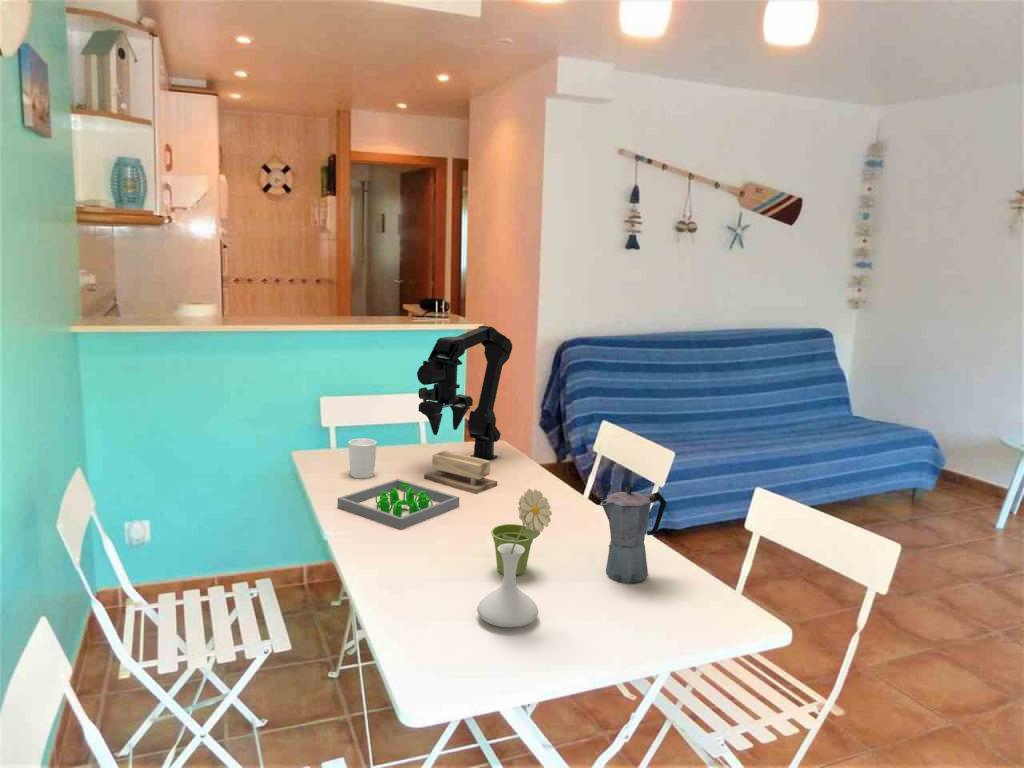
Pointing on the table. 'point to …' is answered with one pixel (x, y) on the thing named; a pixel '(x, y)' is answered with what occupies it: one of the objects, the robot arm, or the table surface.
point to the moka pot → (629, 533)
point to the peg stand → (460, 481)
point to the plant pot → (511, 531)
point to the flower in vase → (508, 599)
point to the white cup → (362, 457)
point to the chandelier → (403, 501)
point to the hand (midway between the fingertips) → (445, 432)
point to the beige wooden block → (461, 464)
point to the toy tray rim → (353, 506)
